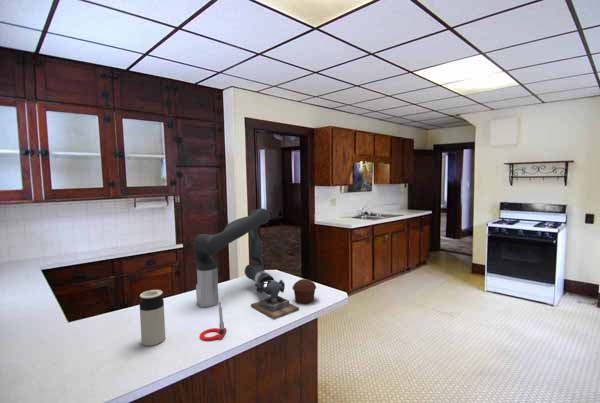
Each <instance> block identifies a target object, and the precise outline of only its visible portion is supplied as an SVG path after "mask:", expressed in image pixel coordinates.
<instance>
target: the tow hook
mask: <svg viewBox="0 0 600 403" xmlns="http://www.w3.org/2000/svg"><path fill="white" fill-rule="evenodd" d="M218 318H219V323H218V324H219V327H217V328H216V327H213V328H208V329H205V330H204V331H202V332H201V333H200V334H199V339H200V340H201V341H204V342H206V341H207V342H208V341H214V340H219V341H220V340H222V338H224V336H225V334H226V333H227V328H226V327H225V322H224V317H223V307H222V303H221V301H220V302H219V301H218ZM213 332H214V333H215V332H216V333H218V334H215V335H213V336H205V335H207V334H208V333H213Z"/></svg>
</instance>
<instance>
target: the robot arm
mask: <svg viewBox="0 0 600 403" xmlns="http://www.w3.org/2000/svg"><path fill="white" fill-rule="evenodd" d="M270 216H271V214H270V212H269V211H268V210H267V209H266V208H263V207H262V208H258V209H254V210H252V211H250V212H249V214H248V215H247V216H243V217H241V218H237V219H235V220H233V221H231V222H229V223H228V224H227V225H226V226H225V228H224V229H223V230H222V231H221V232H219V233H215V234H206V233H205V234H204V233H201V234H198V235H197V236H196V237H195V238H194V241H193V255H194V263H195V265H196V277H197V279H196V280H197V281H196V282H197V284H195V295H196V304H197V305H198V306H199V307H200V308H211V307H214V306H216V305H217V304H218V305H219V283H218V279H219V278H218V261H217V260H216V259H215V258H213V257H212V256H213V255H215V254H217V253H219V252H220V251H221V250H222V249H223V248H225V247H226V246H228V245H229V244H231V243H233V242H234V241H236V240H238V239H240V238H241V237H243V236H245V235H246V234H248V233H249V256H248V258H249V260H250V261H251V262H254V263H255V264H251V263H250V264H247V265H246V266H245V268H244V275H245V276H246V278H248V279H249V280H252V281H254V282H255V284H254V290H255V291H257V292H258V293H260V294H262V293H263V294H265V295H267V296H271V295H270V290H269V289H268V288H267V287H268V284H269V283H270V282H272V281H275V279H274V278H273V276H272V275H271V274H269V273H268V272H267V271H265V266H264V265H265V264H264V260H263V242H262V240H261V238H260V236H259V233H258V232H259V231H258V230H259V229H258V228H259V227H260V226H262V225H265V224H267V223H269V220H270ZM277 282H278V283H279V284H280V286H281V290H280V293H284V292H285V287H286V286H285V284H286V283H285V282H284V281H283V280H282V279H280V280H279V281H277Z"/></svg>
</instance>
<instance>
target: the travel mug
mask: <svg viewBox="0 0 600 403" xmlns="http://www.w3.org/2000/svg"><path fill="white" fill-rule="evenodd" d="M163 293H164V292H163V291H162V290H161V289H150V290H146V291H143V292H142V293H140V295H139V297H140V299H141V300H140V302H139V315H140V317H139V318H140V320H139V321H140V336H141V337H140V339H141V340H140V341H141V345H143V346H147V347H148V346H149V347H151V346H156V345H159V344H160V343H162V342H164V341H165V340H166V321H165V303H164V298H163V296H162V295H163Z"/></svg>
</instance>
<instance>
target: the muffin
mask: <svg viewBox="0 0 600 403" xmlns="http://www.w3.org/2000/svg"><path fill="white" fill-rule="evenodd" d="M316 289H317V286H316V284H315V282H314V281H312V280H310V279H308V278H303V279H302V278H301V279H299V280H297V281H296V282H295V283H294V284H293V285H292V290H293V293H294V299H295V303H298V304H300V305H301V304H302V305H307V304H311V303H313V302H314V298H315V292H316Z"/></svg>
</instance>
